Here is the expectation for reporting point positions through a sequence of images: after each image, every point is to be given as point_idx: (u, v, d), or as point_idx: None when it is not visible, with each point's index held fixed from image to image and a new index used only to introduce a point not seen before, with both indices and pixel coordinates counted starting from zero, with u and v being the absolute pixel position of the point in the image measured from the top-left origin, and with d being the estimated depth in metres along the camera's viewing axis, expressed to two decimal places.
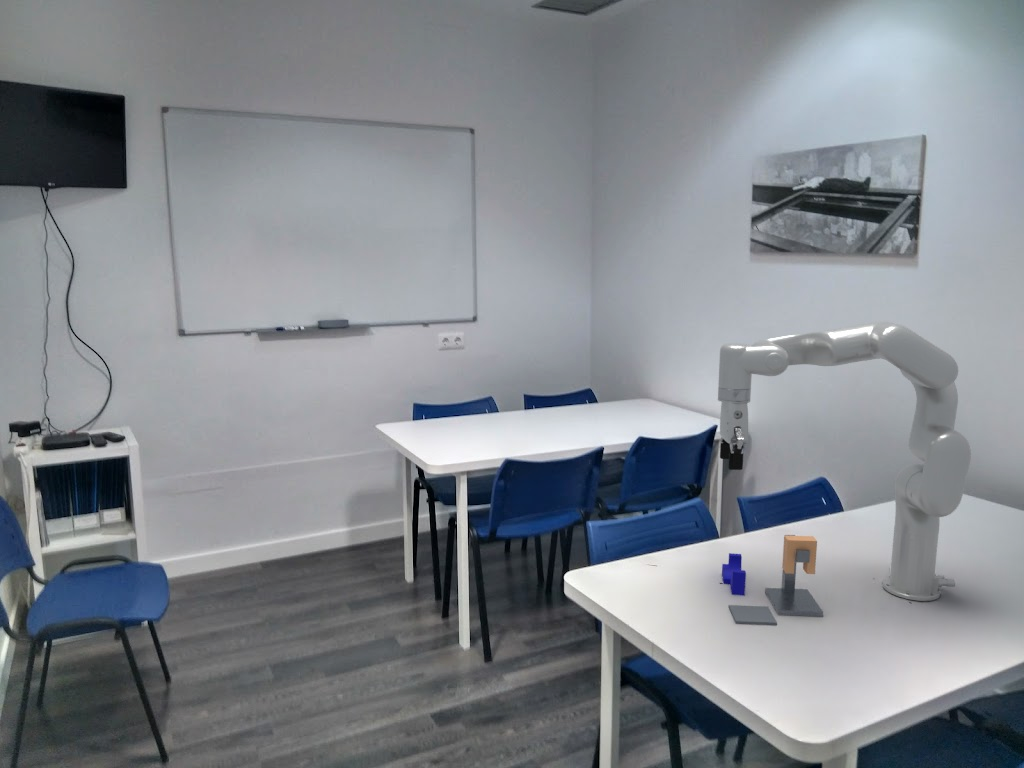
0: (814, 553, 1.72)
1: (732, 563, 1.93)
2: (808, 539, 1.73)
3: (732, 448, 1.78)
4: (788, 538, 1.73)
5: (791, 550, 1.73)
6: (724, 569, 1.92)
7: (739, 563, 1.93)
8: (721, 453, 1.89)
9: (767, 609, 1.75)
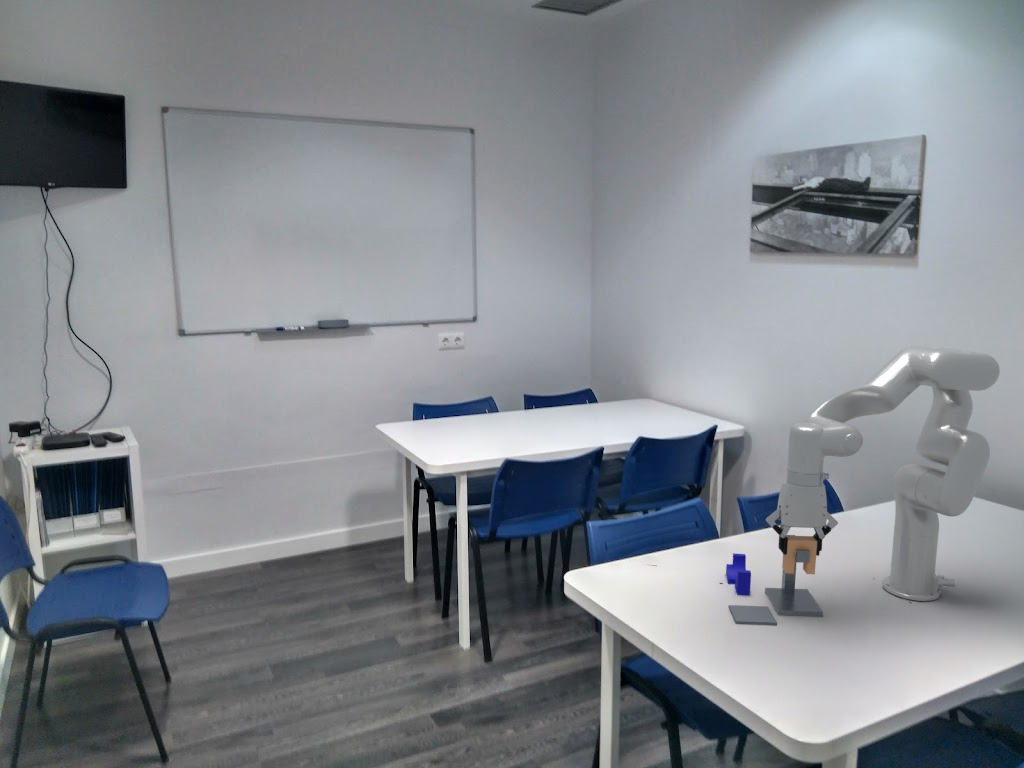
0: (814, 553, 1.72)
1: (736, 563, 1.93)
2: (808, 539, 1.73)
3: None
4: (788, 538, 1.73)
5: (791, 550, 1.73)
6: (728, 569, 1.92)
7: (743, 563, 1.93)
8: None
9: (767, 609, 1.75)
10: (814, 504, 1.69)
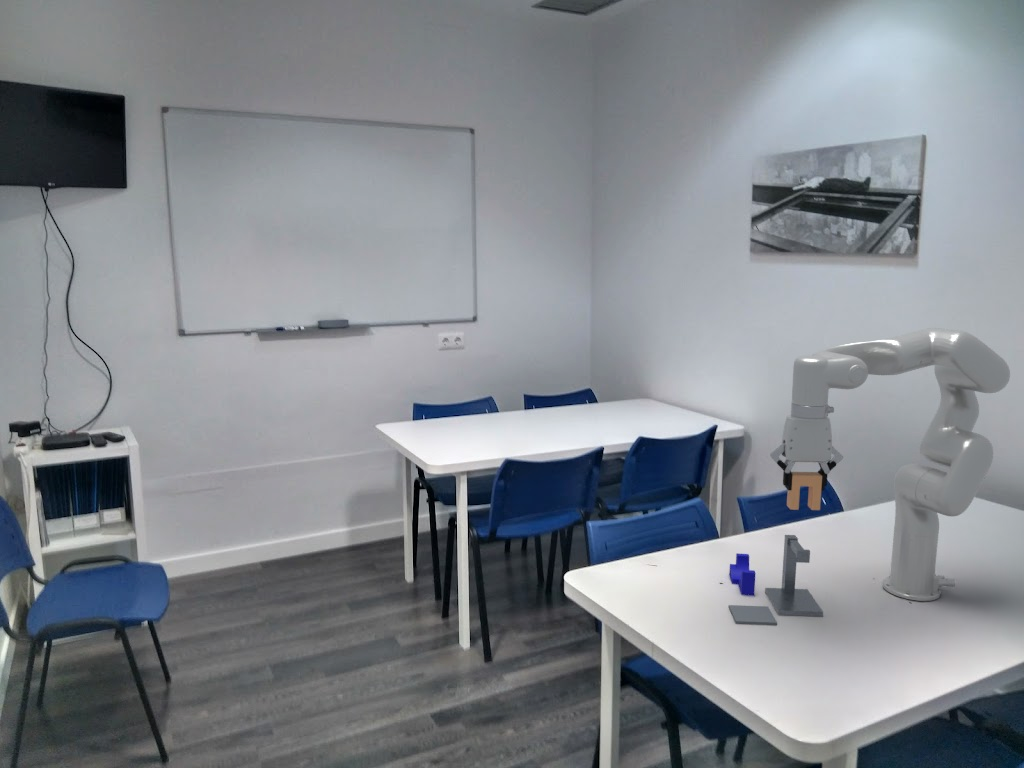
0: (819, 488, 1.70)
1: (740, 563, 1.93)
2: (813, 474, 1.70)
3: (828, 468, 1.69)
4: (793, 474, 1.71)
5: (796, 486, 1.70)
6: (732, 569, 1.92)
7: (747, 563, 1.93)
8: (791, 484, 1.70)
9: (767, 609, 1.75)
10: (819, 437, 1.67)
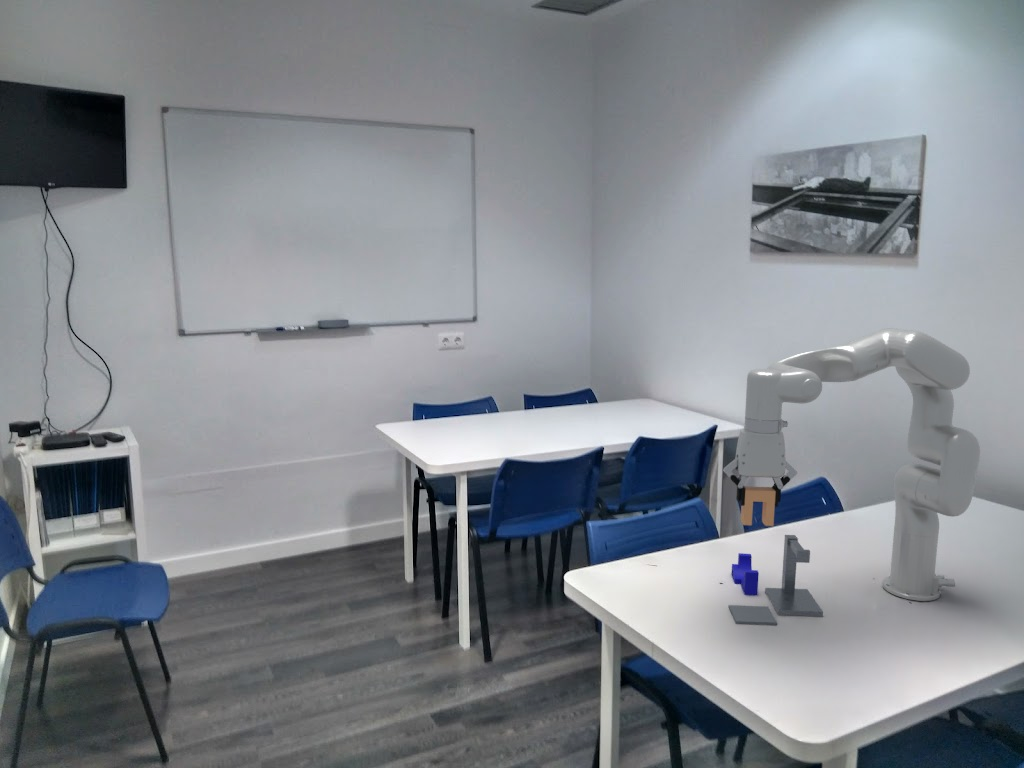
0: (772, 504, 1.67)
1: (742, 563, 1.93)
2: (766, 489, 1.67)
3: (782, 483, 1.66)
4: (746, 488, 1.68)
5: (749, 501, 1.67)
6: (734, 569, 1.92)
7: (749, 563, 1.93)
8: (744, 499, 1.67)
9: (767, 609, 1.75)
10: (772, 452, 1.64)
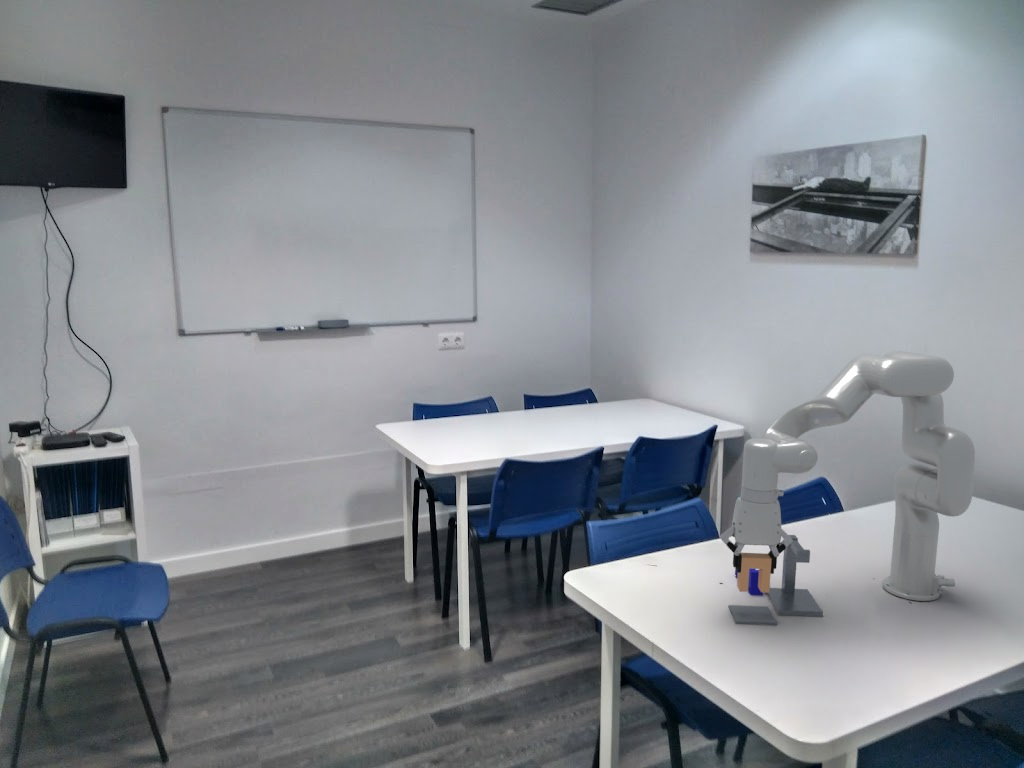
0: (768, 571, 1.69)
1: None
2: (762, 557, 1.69)
3: (777, 551, 1.69)
4: (742, 555, 1.70)
5: (745, 568, 1.69)
6: None
7: None
8: None
9: (767, 609, 1.75)
10: (768, 521, 1.66)
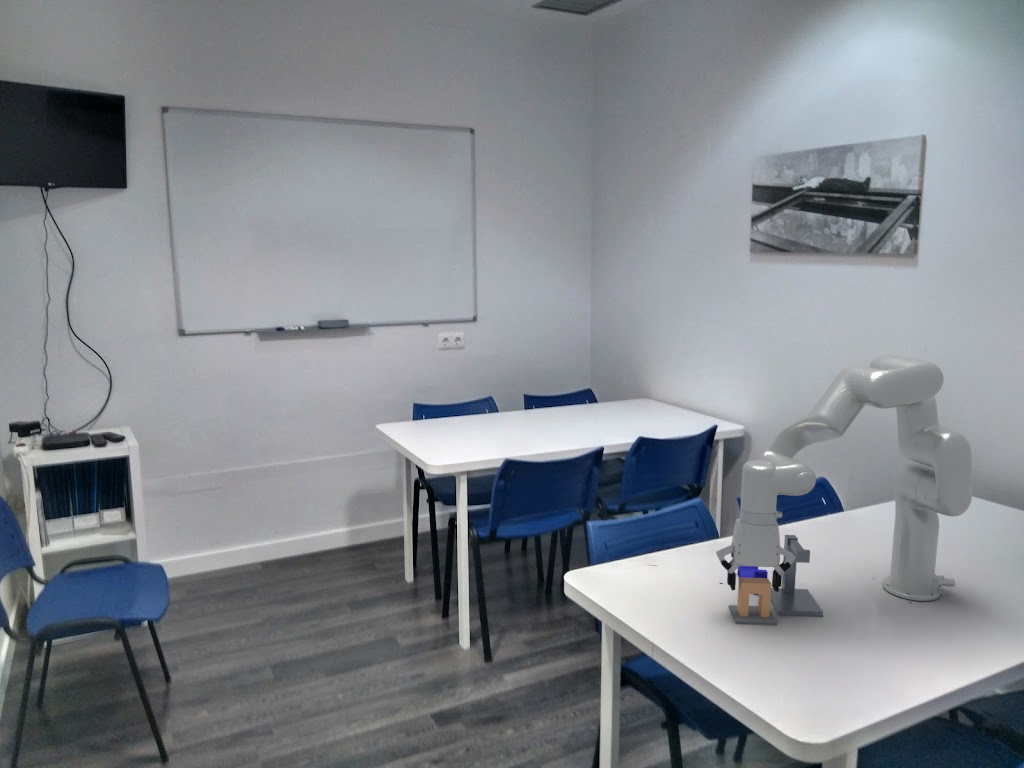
0: (768, 596, 1.70)
1: None
2: (762, 582, 1.70)
3: (782, 569, 1.69)
4: (742, 581, 1.71)
5: (745, 593, 1.70)
6: (741, 569, 1.92)
7: None
8: (735, 584, 1.70)
9: None
10: (767, 543, 1.67)
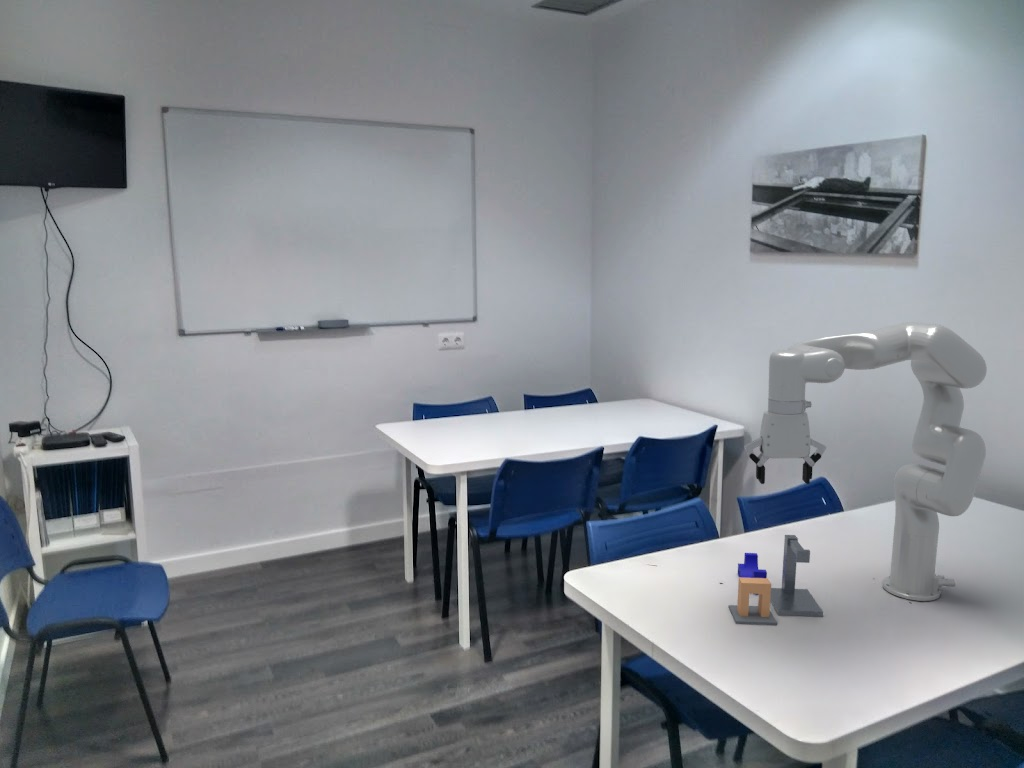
0: (768, 596, 1.70)
1: (749, 562, 1.93)
2: (762, 582, 1.70)
3: (812, 460, 1.66)
4: (742, 581, 1.71)
5: (745, 593, 1.70)
6: (741, 569, 1.93)
7: (755, 562, 1.93)
8: (764, 477, 1.67)
9: None
10: (796, 433, 1.64)
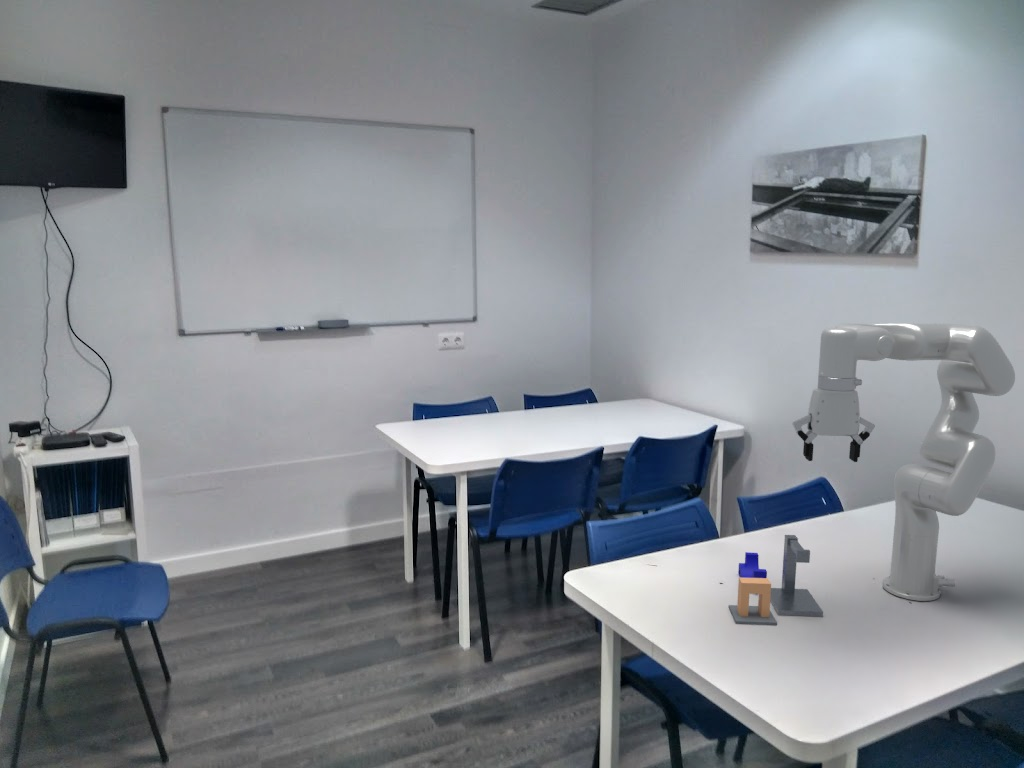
0: (768, 596, 1.70)
1: (749, 562, 1.93)
2: (762, 582, 1.70)
3: (861, 438, 1.66)
4: (742, 581, 1.71)
5: (745, 593, 1.70)
6: (742, 568, 1.93)
7: (756, 562, 1.93)
8: (812, 455, 1.67)
9: None
10: (846, 410, 1.64)
